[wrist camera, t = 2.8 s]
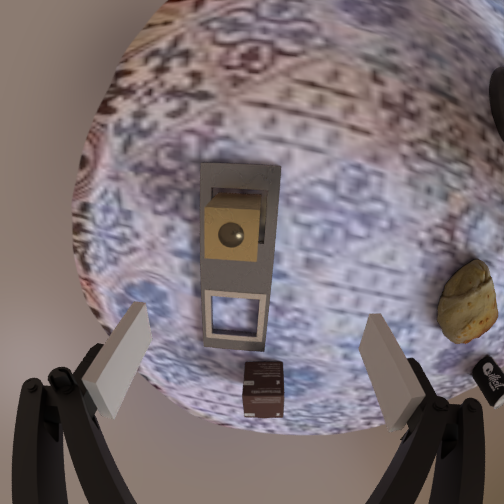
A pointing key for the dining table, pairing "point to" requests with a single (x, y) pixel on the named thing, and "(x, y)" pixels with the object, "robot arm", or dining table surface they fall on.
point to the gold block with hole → (232, 226)
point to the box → (263, 390)
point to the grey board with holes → (238, 272)
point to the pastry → (468, 303)
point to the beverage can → (490, 381)
